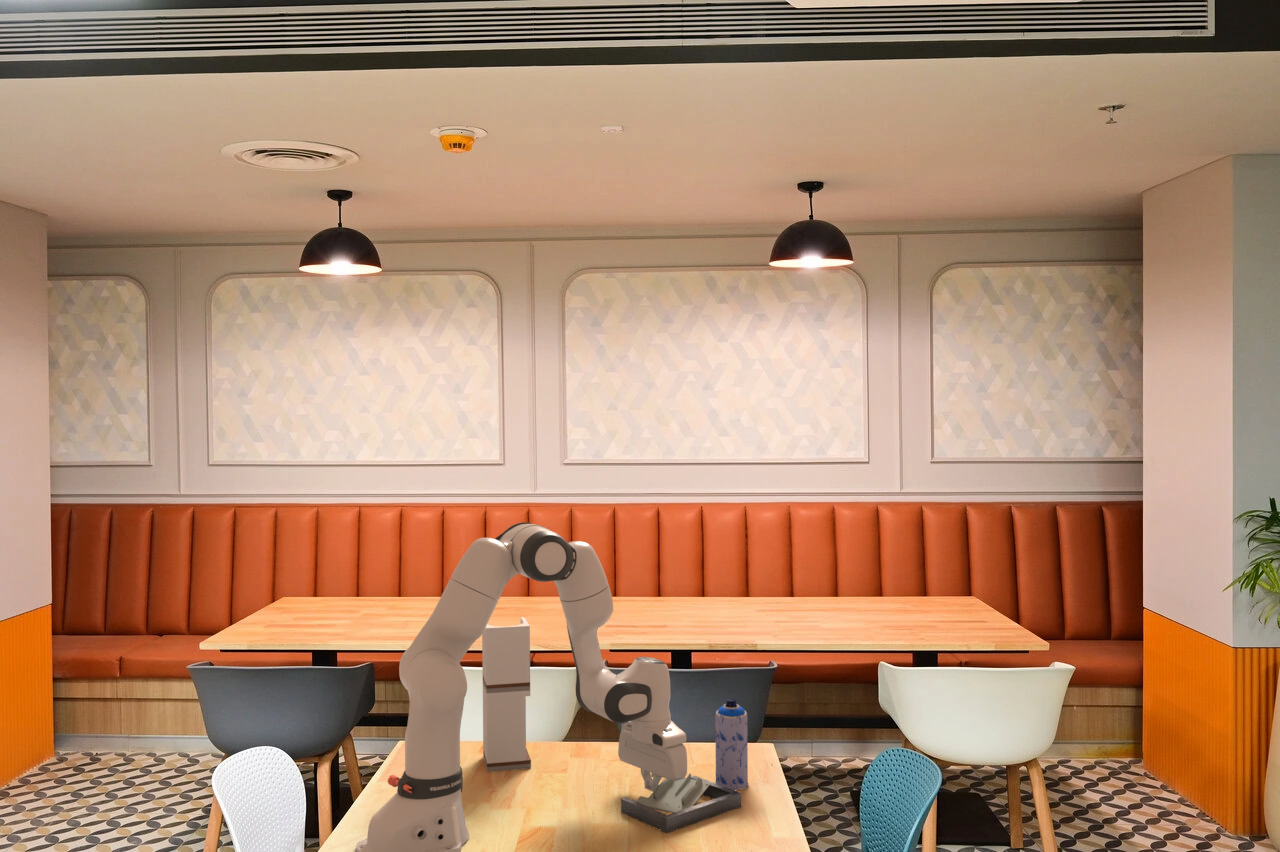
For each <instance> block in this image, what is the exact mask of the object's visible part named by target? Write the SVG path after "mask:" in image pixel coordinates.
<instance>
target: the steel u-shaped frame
mask: <svg viewBox="0 0 1280 852" xmlns="http://www.w3.org/2000/svg"><path fill="white" fill-rule="evenodd" d="M698 778H701V779H702V781H703V782H708V783H710V785H709V787H708V788H707V789H706V791H705V792H704V793H703V794H702V796H705V797H707V798H709V797H710V799H711V800H707V801H704V802H702V803H698V804H694V806H692V807H689V808H686V809H683V810H680V811H677V812H675V813H668V814H666V813H663V811H662V812H661V811H660V810H656V809H652V808H650V807H648V806H646V805H643V804H641V803H639V802H636V800H634V799H631V798H629V797H627V796H626V797H623V798H620V813H621V814H623V815H626V816H628V817H630V818H632V819H634V820H636V819H637V820H636V821H639V822H641V823H643V824H646V825H647V826H649V827H651V828H654V827H655V829H656V828H657V829H656V830H658V829H660V830H661V832H662V833H665V832H666V834H669V833H671V831H672V832H674V831H677V830H676V829H678V830H681V829H682V828H685V827H688V826H691V825H694V824H698V823H700V822H702V821H703V822H704V821H705V820H708V819H711V818H714V817H717V816H719V815H723V814H725V813H728V812H730V811H733V810H736V809H739V807H740V808H742V807H743V806H742V804H743V803H742V793H741V792H739V791H734V790H731V789H729V788H726V787H724V786H721V785H718V784H716V783H715V782H712V781H710V780H708V779H705V778H704V777H703V778H702V777H700V776H697V775H691V779H694V780H697V779H698ZM698 781H699V780H698ZM700 781H701V780H700ZM706 786H707V785H706ZM660 830H659V831H660ZM673 830H674V831H673ZM668 832H669V833H668Z"/></svg>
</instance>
